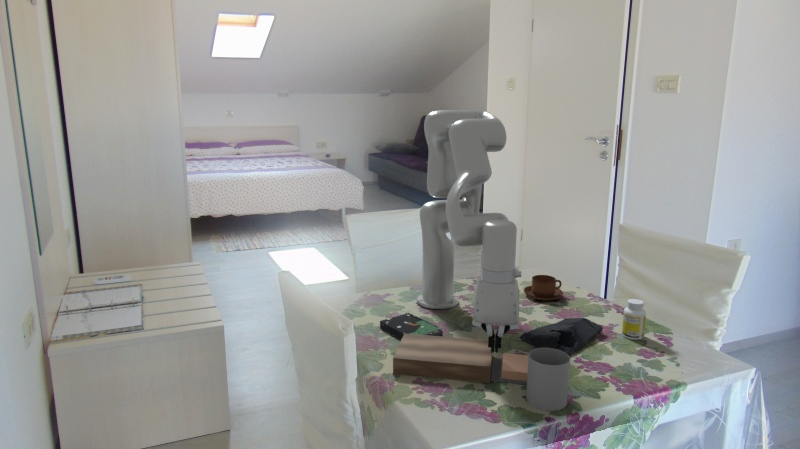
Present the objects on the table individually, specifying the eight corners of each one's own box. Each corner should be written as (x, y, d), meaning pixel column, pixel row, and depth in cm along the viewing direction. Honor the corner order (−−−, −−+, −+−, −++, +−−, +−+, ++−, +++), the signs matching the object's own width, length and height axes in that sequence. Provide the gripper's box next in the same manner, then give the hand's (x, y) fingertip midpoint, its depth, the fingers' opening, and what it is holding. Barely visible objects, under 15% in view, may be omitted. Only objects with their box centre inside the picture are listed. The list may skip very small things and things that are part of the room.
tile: (529, 355, 138) (528, 363, 139) (503, 353, 140) (503, 360, 140) (529, 373, 130) (528, 381, 130) (501, 370, 131) (501, 378, 132)
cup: (560, 390, 127) (562, 347, 125) (572, 410, 119) (576, 365, 117) (521, 390, 127) (523, 348, 125) (531, 411, 119) (534, 365, 117)
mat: (492, 359, 142) (492, 358, 141) (543, 363, 139) (543, 362, 139) (490, 381, 131) (490, 379, 131) (545, 386, 129) (546, 385, 129)
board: (404, 348, 148) (404, 333, 147) (492, 355, 143) (492, 340, 143) (392, 374, 134) (392, 357, 133) (489, 383, 130) (490, 366, 129)
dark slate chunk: (612, 337, 155) (614, 320, 154) (563, 361, 142) (564, 343, 141) (563, 320, 167) (564, 304, 166) (513, 340, 153) (514, 323, 152)
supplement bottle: (633, 331, 158) (637, 296, 156) (648, 339, 153) (651, 303, 151) (617, 333, 157) (620, 299, 154) (631, 341, 152) (634, 306, 149)
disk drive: (379, 330, 160) (413, 348, 149) (378, 321, 159) (413, 338, 148) (408, 321, 166) (443, 337, 155) (408, 312, 166) (443, 327, 154)
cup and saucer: (541, 288, 193) (542, 270, 191) (570, 298, 183) (572, 280, 182) (515, 295, 186) (516, 276, 185) (544, 306, 176) (545, 287, 175)
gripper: (531, 271, 134) (527, 346, 138) (465, 268, 136) (463, 341, 141) (532, 282, 126) (527, 360, 131) (462, 278, 129) (460, 354, 133)
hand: (494, 350), depth 136 cm, fingers closed
